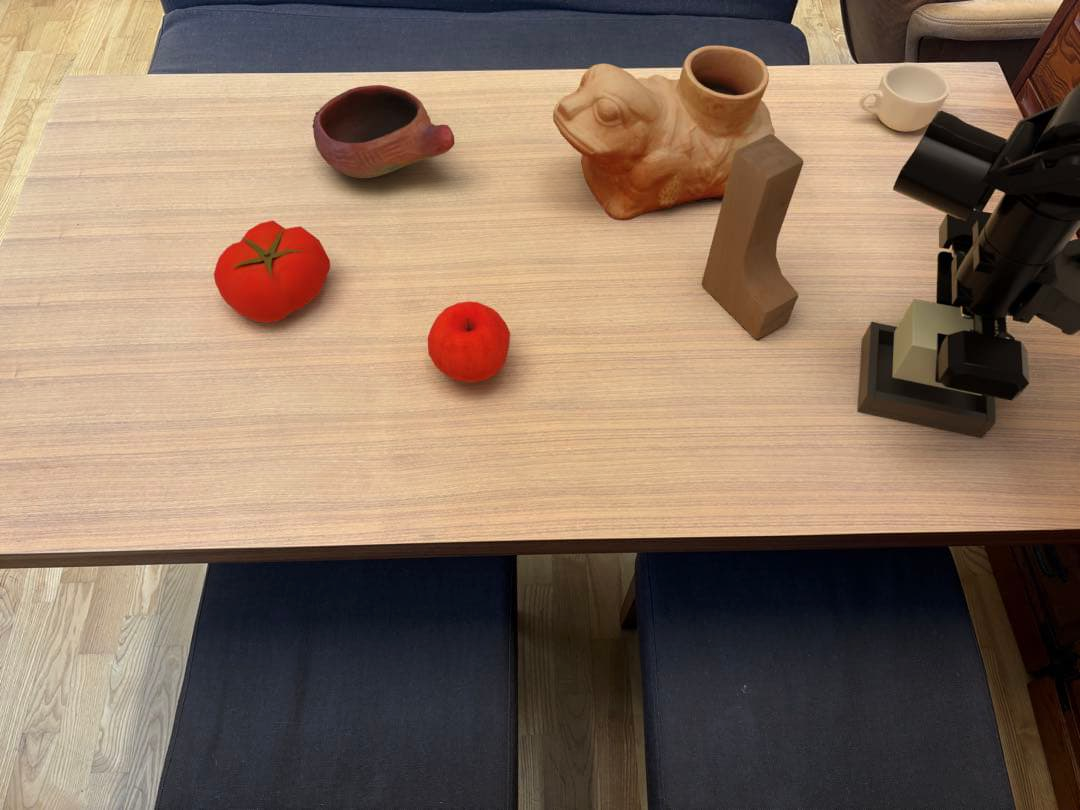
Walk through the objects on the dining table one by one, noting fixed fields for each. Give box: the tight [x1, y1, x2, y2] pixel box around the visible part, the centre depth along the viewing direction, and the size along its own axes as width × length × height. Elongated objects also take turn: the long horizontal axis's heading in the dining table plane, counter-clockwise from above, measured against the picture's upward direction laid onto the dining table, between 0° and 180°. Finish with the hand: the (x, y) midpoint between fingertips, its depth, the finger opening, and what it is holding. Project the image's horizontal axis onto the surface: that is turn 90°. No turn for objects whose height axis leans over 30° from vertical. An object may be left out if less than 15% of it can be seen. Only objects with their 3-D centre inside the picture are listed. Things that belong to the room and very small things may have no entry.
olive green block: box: [892, 298, 996, 396], centre depth 78 cm, size 8×6×5 cm
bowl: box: [312, 84, 455, 179], centre depth 96 cm, size 16×13×8 cm
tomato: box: [213, 219, 331, 323], centre depth 86 cm, size 10×11×6 cm
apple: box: [427, 300, 511, 383], centre depth 81 cm, size 8×8×7 cm
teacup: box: [859, 62, 951, 133], centre depth 102 cm, size 10×8×5 cm
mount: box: [856, 321, 997, 439], centre depth 82 cm, size 12×9×3 cm
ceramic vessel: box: [552, 45, 776, 221], centre depth 93 cm, size 14×26×15 cm, turn 108°
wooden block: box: [701, 134, 805, 340], centre depth 81 cm, size 9×4×18 cm, turn 33°
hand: (941, 357), depth 79 cm, fingers closed on olive green block, 5 cm apart
